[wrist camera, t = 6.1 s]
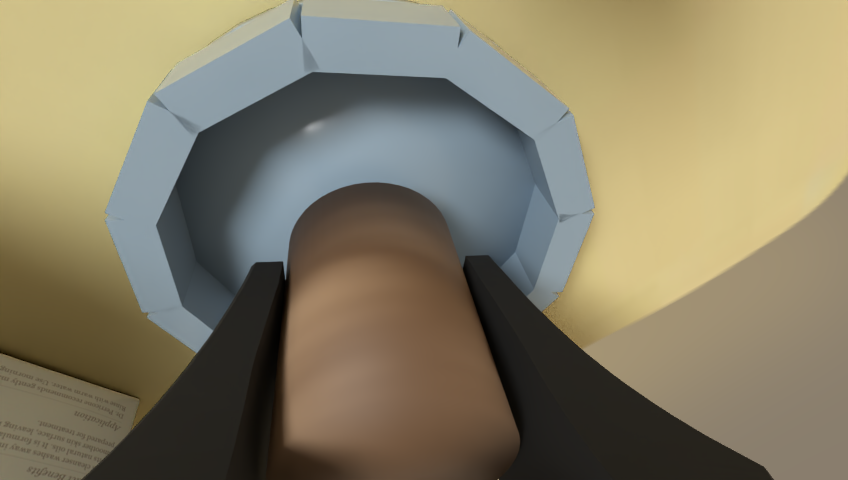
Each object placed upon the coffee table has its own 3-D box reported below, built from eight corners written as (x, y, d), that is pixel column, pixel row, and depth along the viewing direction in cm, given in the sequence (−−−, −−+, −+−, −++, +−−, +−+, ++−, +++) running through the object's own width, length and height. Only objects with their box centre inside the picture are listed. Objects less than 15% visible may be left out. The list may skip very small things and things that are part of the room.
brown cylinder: (292, 308, 13) (274, 536, 9) (284, 179, 11) (253, 410, 6) (437, 304, 14) (489, 508, 10) (463, 184, 12) (552, 388, 7)
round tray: (196, 347, 17) (180, 407, 15) (76, -30, 9) (13, -5, 7) (508, 328, 19) (527, 377, 17) (610, 13, 12) (664, 40, 10)
